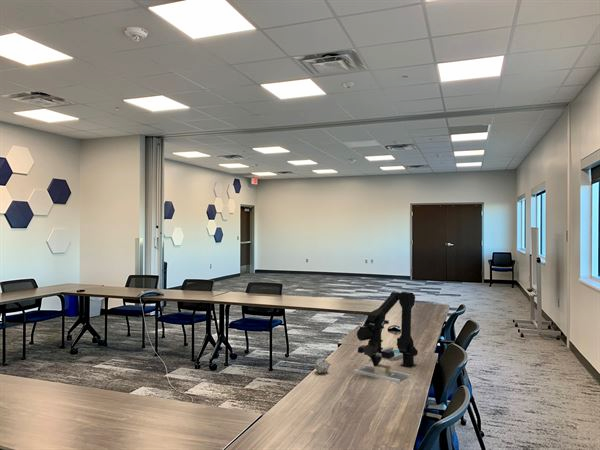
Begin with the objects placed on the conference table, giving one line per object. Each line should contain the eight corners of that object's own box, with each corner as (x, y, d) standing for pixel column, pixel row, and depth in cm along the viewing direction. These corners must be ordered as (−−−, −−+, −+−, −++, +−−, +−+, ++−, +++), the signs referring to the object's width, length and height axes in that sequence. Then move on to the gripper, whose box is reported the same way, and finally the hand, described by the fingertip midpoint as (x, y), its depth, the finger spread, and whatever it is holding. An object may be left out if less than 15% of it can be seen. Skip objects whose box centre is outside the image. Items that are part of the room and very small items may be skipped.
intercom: (364, 353, 244) (389, 345, 262) (364, 361, 244) (389, 352, 261) (384, 357, 235) (408, 348, 252) (384, 365, 234) (408, 356, 252)
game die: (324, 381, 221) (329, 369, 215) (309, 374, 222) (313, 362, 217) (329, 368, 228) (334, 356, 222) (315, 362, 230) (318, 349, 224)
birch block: (381, 372, 221) (380, 363, 221) (391, 375, 217) (391, 366, 217) (374, 375, 217) (374, 366, 217) (384, 378, 213) (384, 368, 213)
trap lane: (365, 367, 231) (365, 364, 231) (410, 377, 214) (410, 374, 214) (353, 372, 223) (353, 369, 223) (399, 383, 206) (399, 380, 206)
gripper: (351, 338, 221) (351, 368, 221) (383, 344, 209) (383, 376, 208) (363, 334, 229) (363, 363, 229) (394, 339, 217) (395, 371, 216)
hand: (375, 368), depth 220 cm, fingers closed
